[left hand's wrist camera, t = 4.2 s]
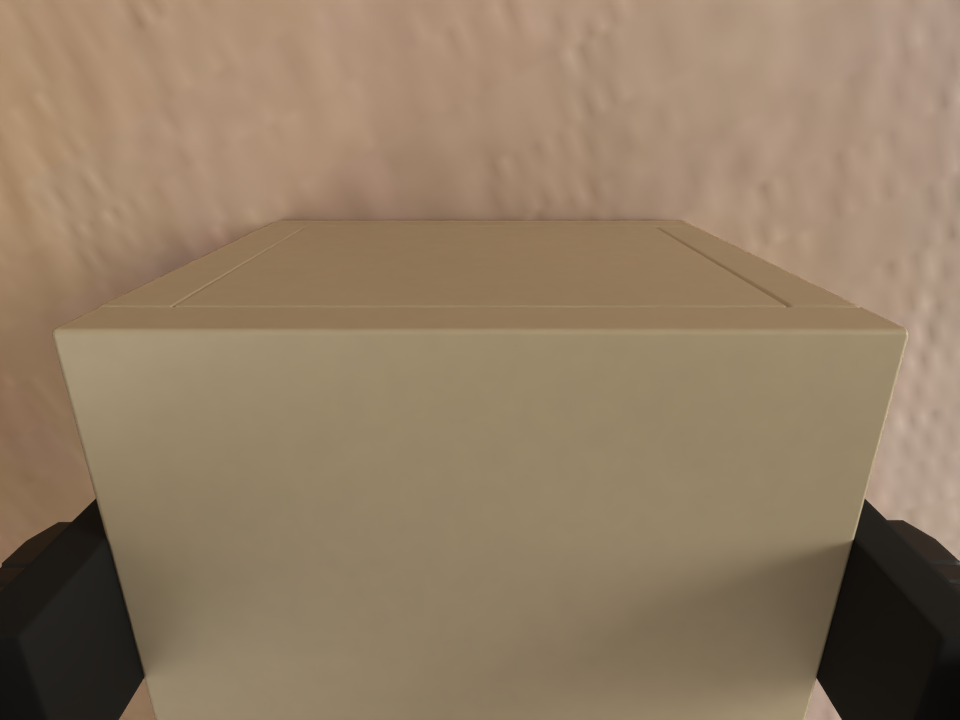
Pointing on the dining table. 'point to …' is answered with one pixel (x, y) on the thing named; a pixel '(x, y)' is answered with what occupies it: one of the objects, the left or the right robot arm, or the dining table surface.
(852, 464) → the cabinet
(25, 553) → the left robot arm
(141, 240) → the dining table surface
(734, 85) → the dining table surface
